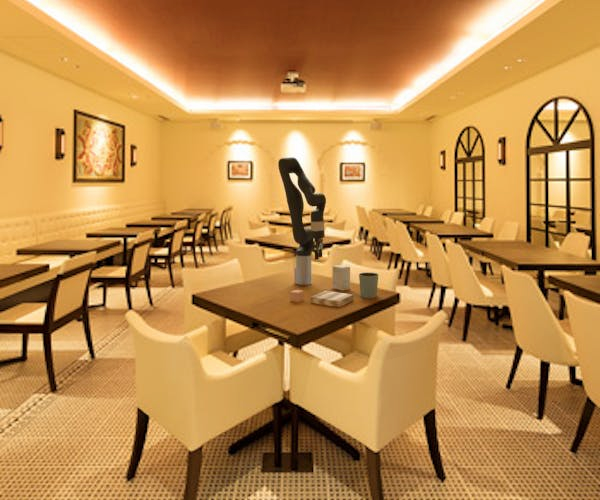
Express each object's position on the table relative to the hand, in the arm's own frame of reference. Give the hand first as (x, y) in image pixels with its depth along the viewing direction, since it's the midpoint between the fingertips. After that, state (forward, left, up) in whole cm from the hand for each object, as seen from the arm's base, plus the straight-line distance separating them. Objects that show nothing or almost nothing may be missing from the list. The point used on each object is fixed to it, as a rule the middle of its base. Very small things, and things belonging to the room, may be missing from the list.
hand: (318, 258), depth 260 cm
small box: (+11, +8, -18) cm, 22 cm away
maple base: (+20, -20, -18) cm, 33 cm away
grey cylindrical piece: (+31, 0, -18) cm, 35 cm away
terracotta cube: (+4, -28, -18) cm, 33 cm away
